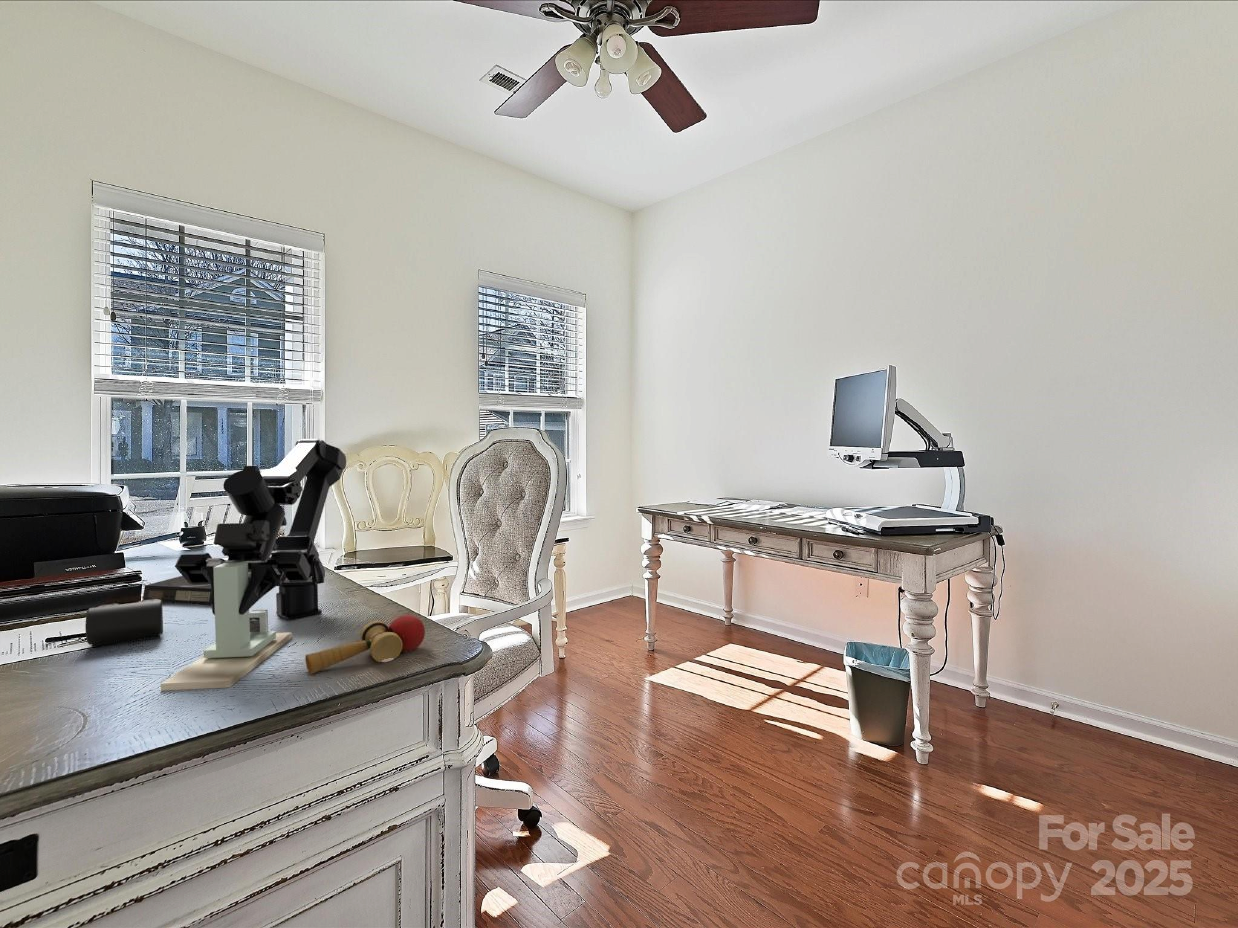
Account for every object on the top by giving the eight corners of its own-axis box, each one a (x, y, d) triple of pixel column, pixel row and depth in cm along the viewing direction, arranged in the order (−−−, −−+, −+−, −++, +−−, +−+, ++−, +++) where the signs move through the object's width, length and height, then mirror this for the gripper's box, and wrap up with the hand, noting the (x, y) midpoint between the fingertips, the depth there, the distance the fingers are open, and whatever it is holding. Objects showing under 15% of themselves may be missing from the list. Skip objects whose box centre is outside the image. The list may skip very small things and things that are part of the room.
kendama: (319, 691, 86) (436, 646, 98) (310, 649, 86) (427, 608, 98) (307, 684, 92) (418, 642, 104) (298, 644, 92) (410, 607, 104)
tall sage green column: (232, 639, 101) (229, 556, 100) (276, 637, 102) (273, 555, 101) (203, 658, 92) (200, 567, 92) (251, 656, 93) (249, 566, 92)
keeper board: (237, 639, 104) (236, 608, 104) (291, 637, 105) (290, 606, 105) (160, 690, 83) (159, 651, 83) (229, 687, 85) (228, 648, 84)
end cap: (86, 653, 98) (84, 612, 98) (93, 641, 104) (91, 602, 104) (162, 641, 104) (160, 603, 104) (164, 630, 110) (163, 594, 109)
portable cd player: (142, 604, 128) (142, 586, 128) (209, 584, 145) (209, 568, 145) (209, 608, 125) (208, 589, 125) (269, 587, 142) (269, 571, 142)
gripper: (179, 504, 96) (136, 588, 86) (302, 502, 98) (274, 584, 88) (208, 543, 104) (171, 625, 94) (320, 541, 107) (297, 620, 96)
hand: (227, 613), depth 93 cm, fingers closed on tall sage green column, 3 cm apart
